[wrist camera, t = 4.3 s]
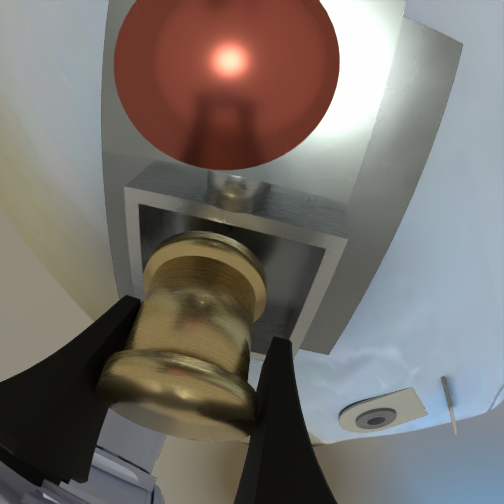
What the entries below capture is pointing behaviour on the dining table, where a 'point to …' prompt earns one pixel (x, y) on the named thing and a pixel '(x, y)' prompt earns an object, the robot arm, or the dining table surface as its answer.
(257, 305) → the brass spool
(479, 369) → the dining table surface
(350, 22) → the valve base
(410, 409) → the bracket
